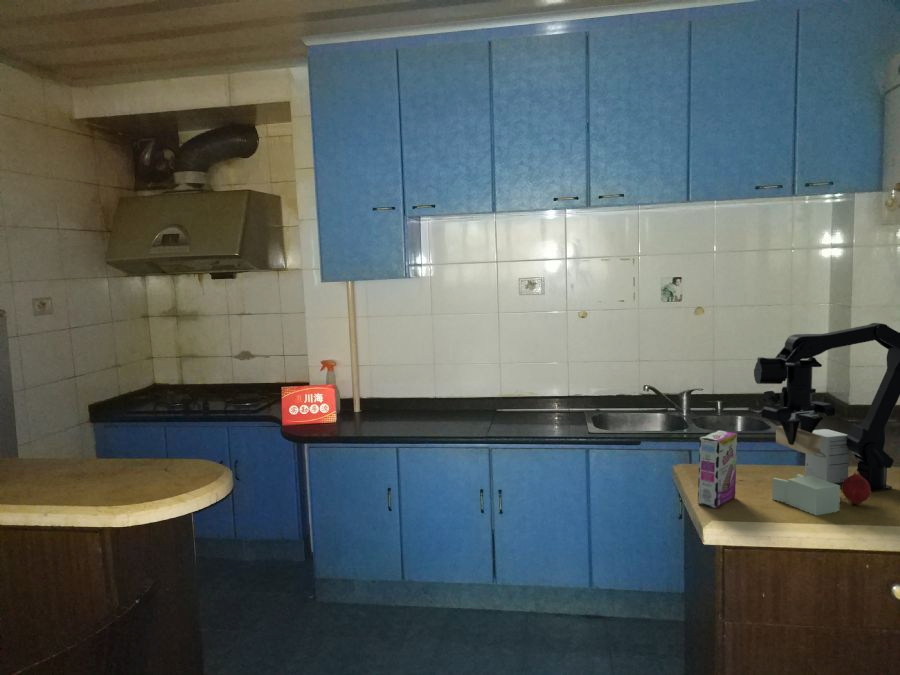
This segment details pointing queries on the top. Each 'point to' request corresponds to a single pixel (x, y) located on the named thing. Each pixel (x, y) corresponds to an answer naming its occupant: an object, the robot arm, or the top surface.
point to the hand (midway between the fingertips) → (797, 443)
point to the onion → (856, 488)
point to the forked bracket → (808, 494)
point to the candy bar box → (717, 468)
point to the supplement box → (829, 457)
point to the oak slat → (800, 441)
